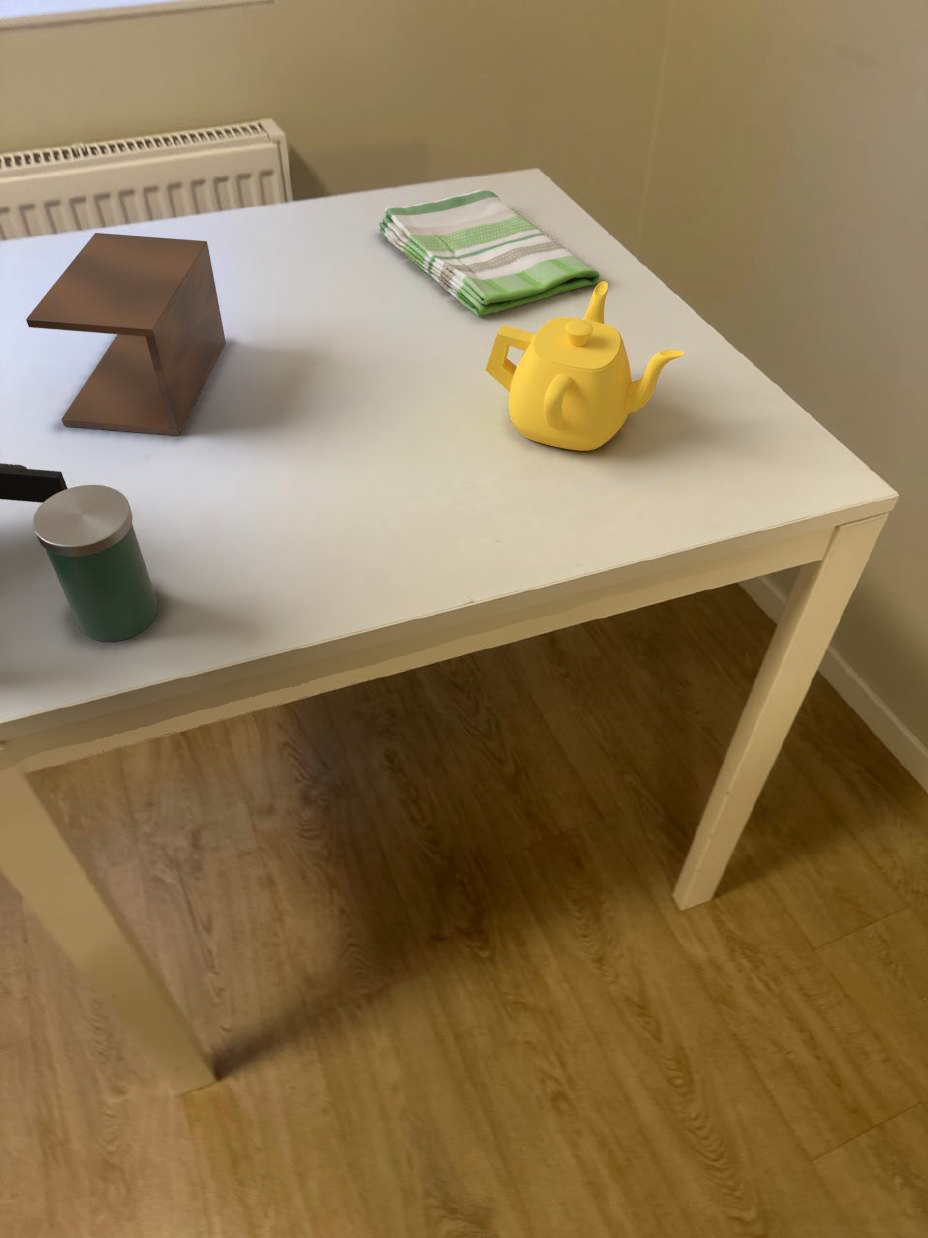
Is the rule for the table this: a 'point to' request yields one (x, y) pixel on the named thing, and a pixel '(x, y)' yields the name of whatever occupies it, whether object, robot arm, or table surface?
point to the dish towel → (484, 251)
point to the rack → (139, 329)
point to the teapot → (572, 378)
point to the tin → (97, 561)
